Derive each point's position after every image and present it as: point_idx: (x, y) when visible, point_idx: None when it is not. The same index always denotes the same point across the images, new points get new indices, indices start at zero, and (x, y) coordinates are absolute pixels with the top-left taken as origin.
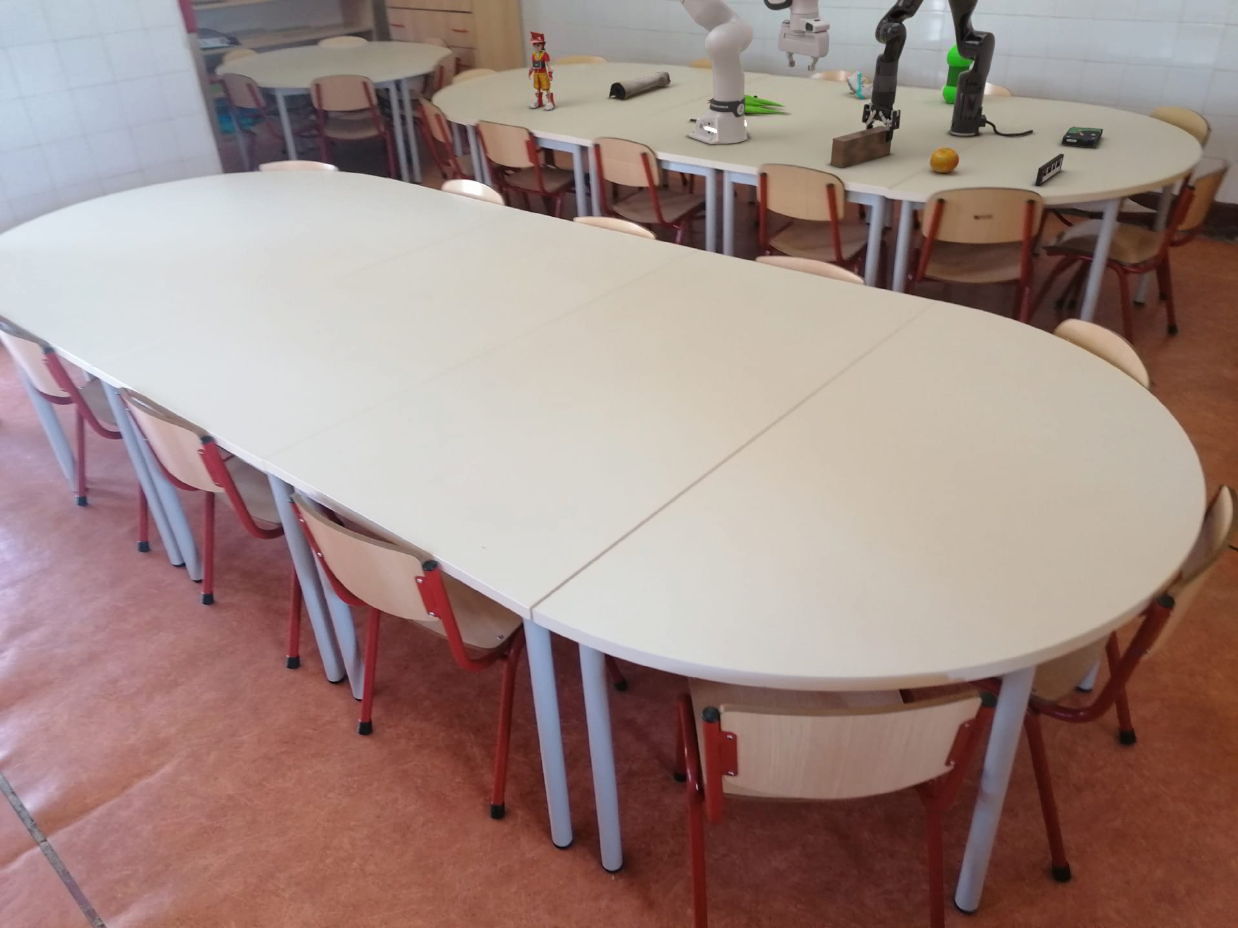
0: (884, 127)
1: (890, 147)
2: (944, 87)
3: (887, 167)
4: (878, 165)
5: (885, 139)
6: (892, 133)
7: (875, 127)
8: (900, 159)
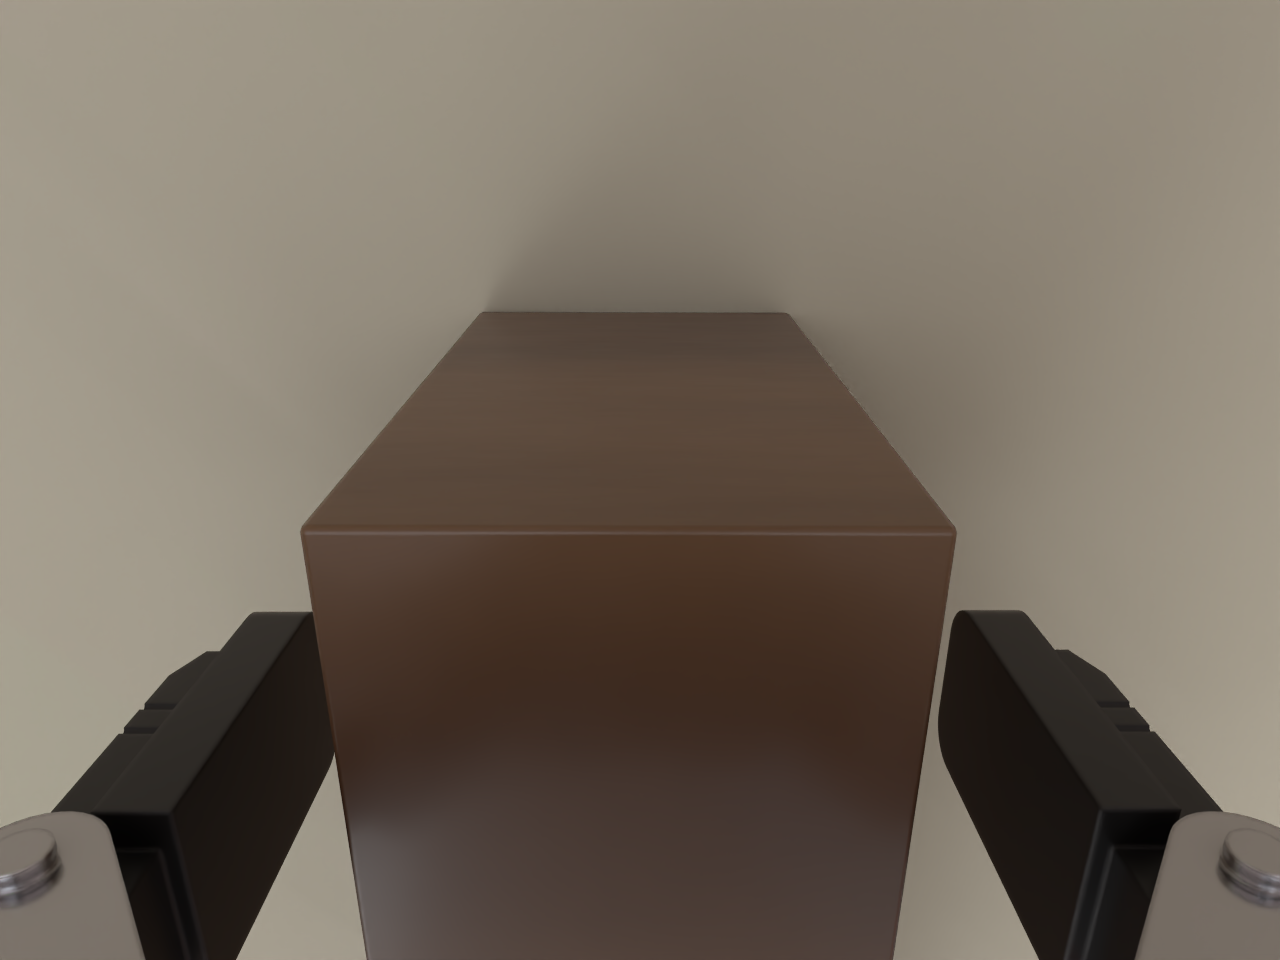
0: (605, 646)
1: (814, 351)
2: None
3: None
4: None
5: (959, 792)
6: (1189, 808)
7: (383, 848)
8: (1141, 412)
